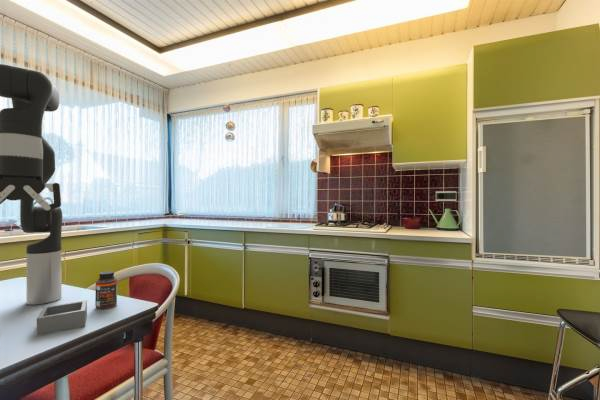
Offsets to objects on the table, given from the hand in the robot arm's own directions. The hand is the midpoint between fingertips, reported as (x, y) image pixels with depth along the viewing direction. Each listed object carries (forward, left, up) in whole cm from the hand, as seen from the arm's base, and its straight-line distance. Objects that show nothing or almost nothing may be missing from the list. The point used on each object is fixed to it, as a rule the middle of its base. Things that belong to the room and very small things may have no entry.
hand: (20, 227), depth 66 cm
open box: (-14, +7, -29) cm, 33 cm away
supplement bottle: (-24, +17, -29) cm, 41 cm away
